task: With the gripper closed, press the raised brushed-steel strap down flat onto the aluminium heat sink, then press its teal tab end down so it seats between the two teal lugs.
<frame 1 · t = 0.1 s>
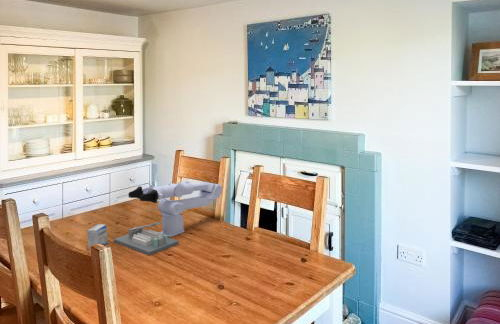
hand: (134, 196, 181), 22 cm above the table, tool horizontal, fingers open, 7 cm apart
heatsink board: (146, 243, 187), on the table
medicine box: (98, 246, 183), on the table
strap: (146, 226, 185), point 8 cm above the table, hinge at 20.0°
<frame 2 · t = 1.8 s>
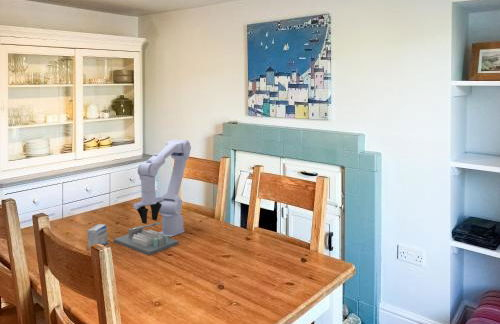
hand: (149, 221, 183), 10 cm above the table, tool pointing down, fingers open, 5 cm apart
nothing on the table moved.
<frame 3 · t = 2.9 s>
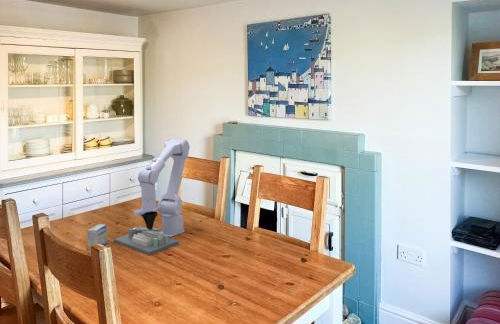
hand: (149, 228, 184), 7 cm above the table, tool pointing down, fingers closed, pressing on strap
strap: (146, 229, 185), point 6 cm above the table, hinge at 10.6°, touching gripper
everything else where it was.
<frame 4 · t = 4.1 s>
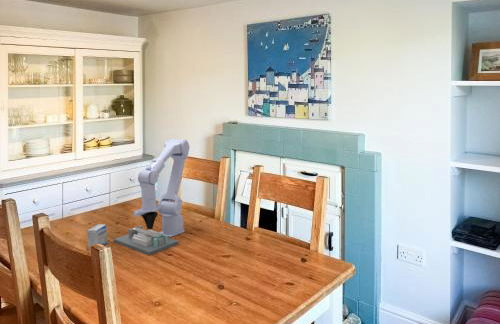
hand: (149, 228, 184), 7 cm above the table, tool pointing down, fingers closed
strap: (147, 232, 186), point 5 cm above the table, hinge at -0.7°
everything else where it was.
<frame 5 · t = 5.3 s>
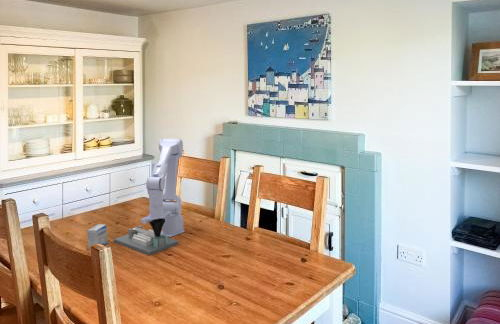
hand: (157, 235, 182), 5 cm above the table, tool pointing down, fingers closed, pressing on strap
strap: (147, 232, 186), point 5 cm above the table, hinge at -0.7°, touching gripper
everything else where it was.
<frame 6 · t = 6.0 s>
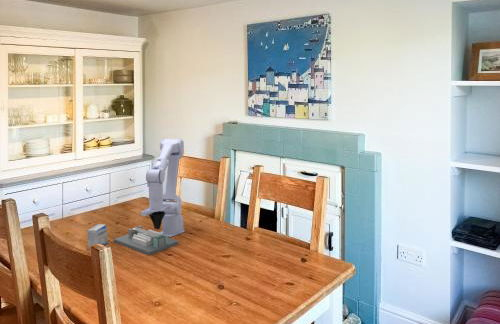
hand: (157, 228, 181), 8 cm above the table, tool pointing down, fingers closed
strap: (147, 232, 186), point 5 cm above the table, hinge at -0.7°
everything else where it was.
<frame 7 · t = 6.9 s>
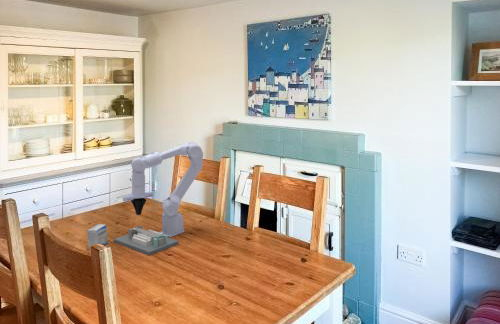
hand: (138, 214, 194), 10 cm above the table, tool pointing down, fingers closed
nothing on the table moved.
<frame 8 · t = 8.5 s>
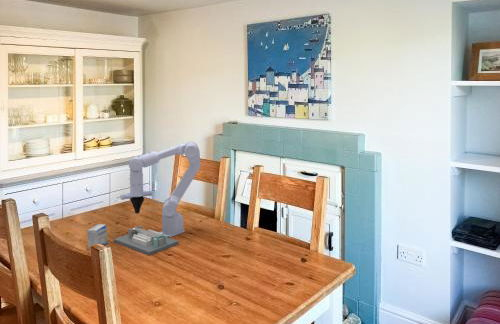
hand: (137, 212, 196), 10 cm above the table, tool pointing down, fingers closed
nothing on the table moved.
at the end: strap at -1° (first picture: +20°); medicine box moved 0.3 cm from its start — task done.
